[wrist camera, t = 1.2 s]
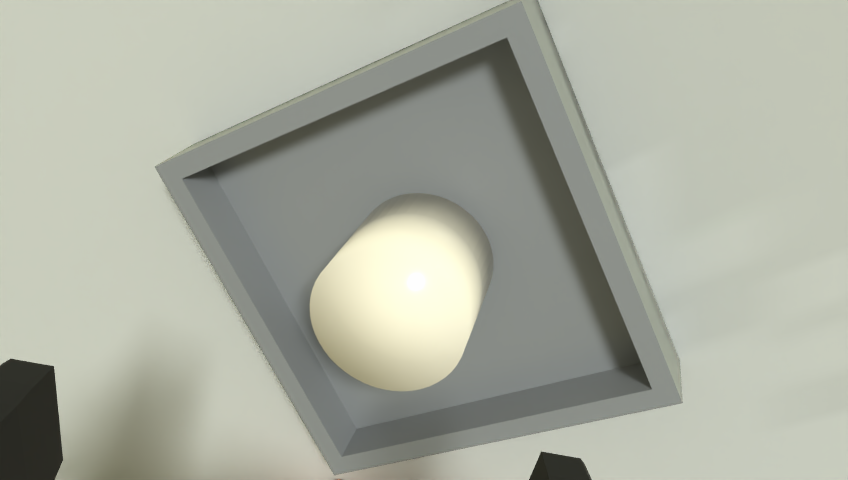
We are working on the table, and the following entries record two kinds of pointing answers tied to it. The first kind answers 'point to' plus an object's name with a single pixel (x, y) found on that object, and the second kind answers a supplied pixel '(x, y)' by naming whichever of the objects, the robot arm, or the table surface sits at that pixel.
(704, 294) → the table surface
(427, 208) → the cream round lump
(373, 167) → the tray
